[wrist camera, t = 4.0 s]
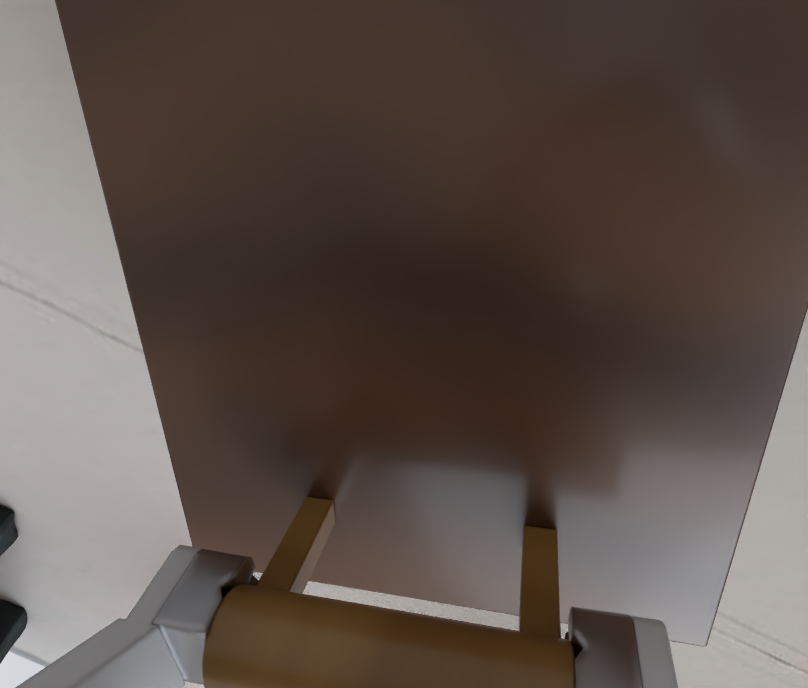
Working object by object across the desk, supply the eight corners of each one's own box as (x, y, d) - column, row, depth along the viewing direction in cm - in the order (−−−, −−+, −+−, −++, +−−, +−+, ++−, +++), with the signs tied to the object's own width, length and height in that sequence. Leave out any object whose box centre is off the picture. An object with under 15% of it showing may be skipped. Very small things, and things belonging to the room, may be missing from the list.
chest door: (698, 618, 13) (782, 909, 9) (211, 541, 16) (75, 732, 11) (957, -303, 7) (1931, -1190, 2) (46, -169, 9) (-449, -411, 5)
